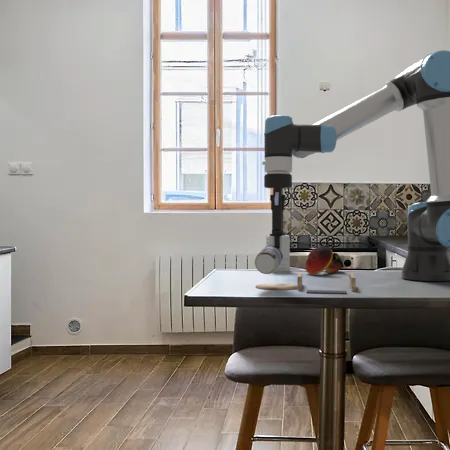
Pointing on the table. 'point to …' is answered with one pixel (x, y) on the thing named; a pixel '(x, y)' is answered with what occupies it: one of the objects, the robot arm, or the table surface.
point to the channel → (351, 281)
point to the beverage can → (268, 259)
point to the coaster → (277, 286)
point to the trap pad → (326, 292)
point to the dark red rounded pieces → (323, 261)
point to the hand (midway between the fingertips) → (277, 259)
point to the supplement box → (286, 253)
